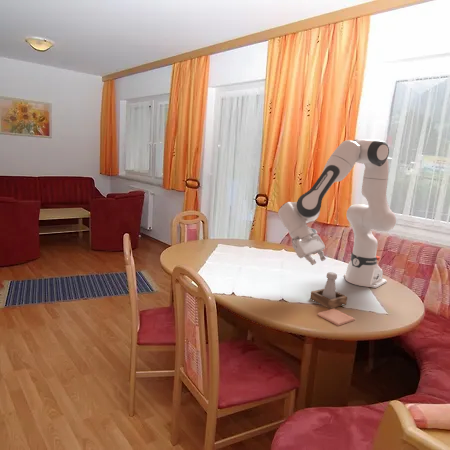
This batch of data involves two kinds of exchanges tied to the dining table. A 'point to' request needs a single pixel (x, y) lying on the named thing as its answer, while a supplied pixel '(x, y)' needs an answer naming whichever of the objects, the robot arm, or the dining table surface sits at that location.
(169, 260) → the dining table surface
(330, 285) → the salt shaker
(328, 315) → the terracotta tile
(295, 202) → the robot arm
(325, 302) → the box
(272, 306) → the dining table surface
